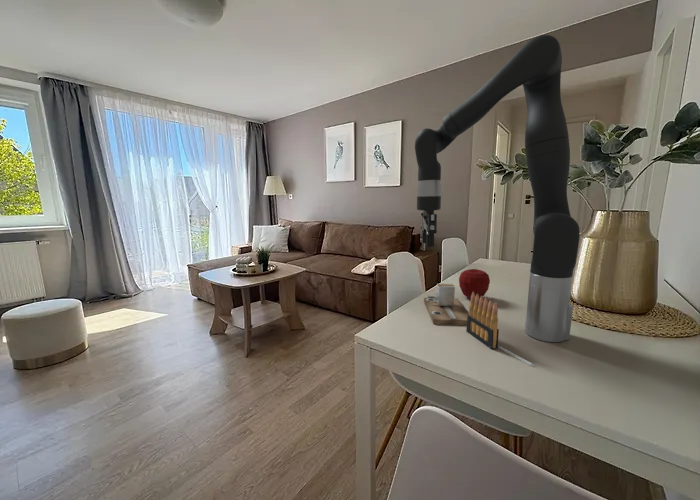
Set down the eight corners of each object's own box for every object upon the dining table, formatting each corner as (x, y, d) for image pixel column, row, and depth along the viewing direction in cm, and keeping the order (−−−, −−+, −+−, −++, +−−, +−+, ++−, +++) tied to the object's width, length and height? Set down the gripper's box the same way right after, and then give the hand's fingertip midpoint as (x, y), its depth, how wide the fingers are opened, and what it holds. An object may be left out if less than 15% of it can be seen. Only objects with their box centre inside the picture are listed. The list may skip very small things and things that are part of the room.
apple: (459, 292, 117) (461, 264, 115) (488, 295, 112) (490, 266, 110) (456, 300, 107) (457, 270, 106) (488, 304, 103) (490, 272, 101)
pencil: (532, 367, 64) (480, 337, 78) (534, 369, 64) (482, 340, 78) (535, 364, 64) (483, 335, 78) (536, 366, 64) (484, 337, 78)
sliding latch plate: (457, 302, 106) (457, 294, 105) (474, 325, 86) (474, 315, 86) (423, 301, 107) (424, 293, 107) (433, 324, 88) (433, 314, 87)
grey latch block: (451, 301, 100) (452, 283, 99) (454, 305, 97) (455, 286, 95) (429, 301, 101) (429, 283, 100) (431, 305, 97) (431, 286, 96)
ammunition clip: (498, 348, 73) (501, 303, 71) (491, 349, 72) (494, 303, 70) (471, 330, 83) (474, 290, 81) (466, 331, 82) (468, 290, 80)
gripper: (446, 194, 86) (444, 248, 89) (436, 195, 100) (434, 241, 103) (420, 195, 87) (419, 248, 89) (414, 196, 101) (413, 242, 103)
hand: (427, 244), depth 96 cm, fingers open, 8 cm apart
